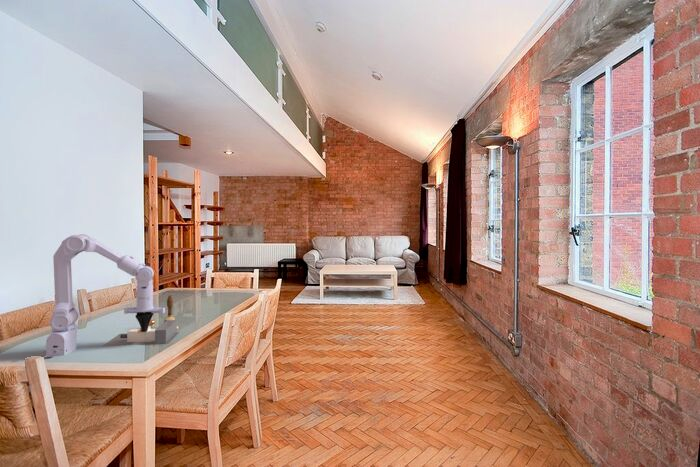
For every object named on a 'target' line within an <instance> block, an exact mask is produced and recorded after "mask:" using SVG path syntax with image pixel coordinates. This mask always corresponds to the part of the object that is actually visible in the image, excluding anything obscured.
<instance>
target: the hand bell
mask: <svg viewBox="0 0 700 467" xmlns="http://www.w3.org/2000/svg"><path fill="white" fill-rule="evenodd" d="M166 305H167V306H166V307H167V317H165V318H164V321H163V323H165V322H166V321H167V320H176V318H175V317H174V316H173V307H174V306H173V305H174V299H173V296H172V294H169V295H168V296H167V300H166ZM178 329H179V326H178V325H177V330H178Z"/></svg>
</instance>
